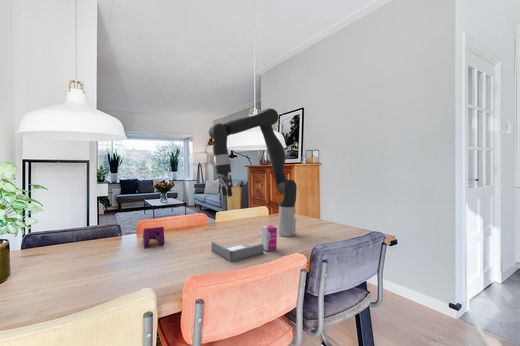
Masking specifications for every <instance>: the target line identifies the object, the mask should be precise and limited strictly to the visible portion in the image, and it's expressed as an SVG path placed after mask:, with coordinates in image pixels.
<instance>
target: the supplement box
mask: <svg viewBox="0 0 520 346" xmlns="http://www.w3.org/2000/svg"><path fill="white" fill-rule="evenodd" d="M277 235H278V227H276V226H274V225H272V224H270V225H261V244H263V252H264V251H265V252H272V251H277V245H278V244H277V243H278V242H277V241H278V238H277V237H278V236H277Z"/></svg>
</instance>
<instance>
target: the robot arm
mask: <svg viewBox="0 0 520 346" xmlns="http://www.w3.org/2000/svg"><path fill="white" fill-rule="evenodd" d="M278 120H279V113H278V111H277V110H276V109H274V108H270V107H269V108H266V109H262V110H260V111H259V112H258V113H257V114H254V115H253V114H252V115H250V116H249V115H248V116H245V117H240V118H235V119H231V120H229V121H227V122H225V123H221V122H218V123H215V124H213V125H212V126H210V128H209V129H208V135H209V137H210V138H211V139H213V140H214V143H213V146H212V150H213V156H214V159H213V161H214V162H213V163H214V167H215V174H216V175H218V182H219V183H218V184H219V188H220V189H221V192H222V194H221V195H222V196H223V197H228V198H230V197H233V191H232V188H233V187H234V186H233V179H232V174H230V173H231V172H232V166H231V162H230V157H229V152H228V145H227V144H228V136H230V135H235V134H240V133H243V132H245V131H249V130H251V129H254V128H258V127H259V128H260V130H261V133H262V136H263V139H264V142H265V143H264V144H265V146H266V149H267V154H268V158H269V160H270V164H271V168H272V171H273V175H274V181H275V187H276V190H277V192H278V193H279V194H281V195H283V198H282V200H279V202H278V236H280V237H284V238H285V237H286V238H288V237H289V238H290V237H294V236H295V235H296V225H297V224H296V222H297V221H296V218H295V214H296V213H295V212H296V211H295V208H296V207H295V205H296V201H297V183H296V181H295V180H294V179H287V177H286V173H285V164H286V159H287V158H286V153H285V149H284V145H283V144H282V142H281V141H280V139H279V138H278V137H277V135H276V133H275V132H274V129H273V126H274V125H275V124H277V122H278Z"/></svg>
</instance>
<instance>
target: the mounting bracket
mask: <svg viewBox="0 0 520 346" xmlns="http://www.w3.org/2000/svg"><path fill="white" fill-rule="evenodd" d="M142 232H143V233H142V239H143V248H147V247H148V248H149V247H150V243H151V242H150V238H151V239H156V238H157V243H158V244H157V245H158V246H163V245H165V227H164V226H160V227H158V226H157V227H150V228H143V231H142Z"/></svg>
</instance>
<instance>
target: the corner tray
mask: <svg viewBox="0 0 520 346" xmlns="http://www.w3.org/2000/svg"><path fill="white" fill-rule="evenodd" d="M210 247H211V249H210V250H211V252H213V253H215V254H216V255H218V256H220V257H221V258H222V259H224V260H226V261H228V262H229V263H233V262H236V261H240V260H245V259H247V258H252V257H255V256H258V255H259V256H260V255H263V254H264V250H263V244H262V243H261V244H255V245H249V244H247V243H244V242H237V243H234V244H230V245H229V244H228V245H224V246H223V245H221V244H219V243H217V242H216V241H211V246H210Z"/></svg>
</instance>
